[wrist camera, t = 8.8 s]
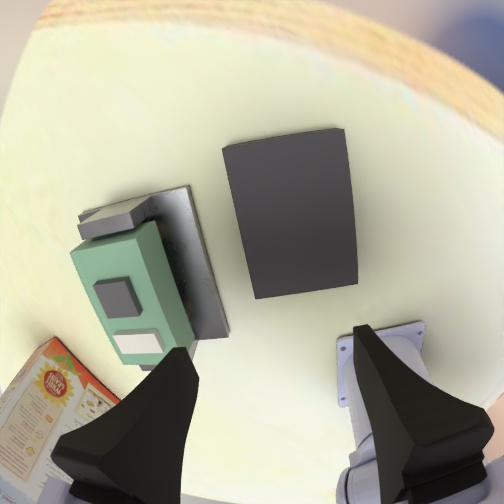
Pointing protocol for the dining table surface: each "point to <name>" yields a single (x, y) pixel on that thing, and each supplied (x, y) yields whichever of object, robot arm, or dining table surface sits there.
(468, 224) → the dining table surface
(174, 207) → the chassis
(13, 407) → the cracker box
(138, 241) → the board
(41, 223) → the dining table surface
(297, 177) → the pad
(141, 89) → the dining table surface
